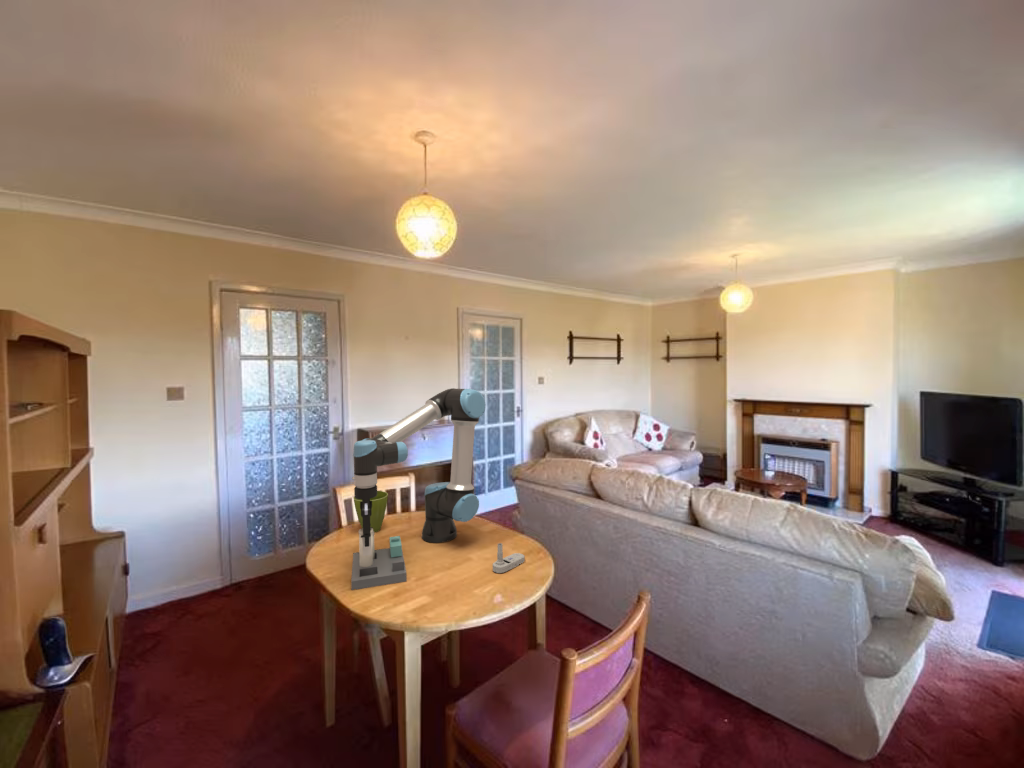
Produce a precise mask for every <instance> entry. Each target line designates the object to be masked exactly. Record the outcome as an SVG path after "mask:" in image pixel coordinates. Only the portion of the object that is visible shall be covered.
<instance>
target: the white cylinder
mask: <svg viewBox="0 0 1024 768" xmlns="http://www.w3.org/2000/svg"><path fill="white" fill-rule="evenodd" d="M375 550H376V549H375V532H374V531H373V559H375Z"/></svg>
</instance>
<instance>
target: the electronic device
mask: <svg viewBox="0 0 1024 768" xmlns="http://www.w3.org/2000/svg"><path fill="white" fill-rule="evenodd" d="M503 550H504V549H503V543H501V542H498V543H497V552H496V553H497V560H495V561H494V562H493V563H492V572H494V573H496V574H497V573H498V574H503V573H506V572H508V571H510V570H512V569H514V568H516V567H518V566H520V565H522V564H524V563H525V562H526V561H525V560H526V559H525V555H524V554H523V553H520V552H515V553H512V554H510V555H507V556H505V557H504V552H503ZM524 561H525V562H524ZM523 562H524V563H523ZM521 563H522V564H521ZM519 564H520V565H519Z"/></svg>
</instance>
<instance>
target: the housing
mask: <svg viewBox="0 0 1024 768" xmlns="http://www.w3.org/2000/svg"><path fill="white" fill-rule="evenodd" d="M374 550H375V559H373V565H371V566H368V567H361V566H360V556H359V551H358V552H353V554H352V566H351V581H350V583H351V584H350V585H351V586H350V587H351V591H355V590H354V589H356V590H362V589H369V588H374V587H381V586H387V585H393V584H398V583H400V584H401V583H405V582H407V578H408V577H407V576H408V575H407V568H406V564H405V558H404V552H403V551H402V556H398V557H391V554H390V547H387V548H381V549H374Z"/></svg>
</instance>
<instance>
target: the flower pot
mask: <svg viewBox="0 0 1024 768" xmlns="http://www.w3.org/2000/svg"><path fill="white" fill-rule="evenodd" d="M388 495H389V494H388V492H386V491H382V490H377V496H376V497H374V498H370V501H372V508H371V512H372V515H371V516H370V524H371V525H370V527H372V528H373V531H374V533H377V532H379V531H380V530H381V529H382V525H383V522H384V519H385V516H386V511H387V505H388V498H389V496H388ZM353 502H354V508H355V512H356V515H357V518H358V522H359V524H360V527H361V529H362V528H363V517H362V516H361V509H360V502H362V499H356V498H355V496H354V495H353Z"/></svg>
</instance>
